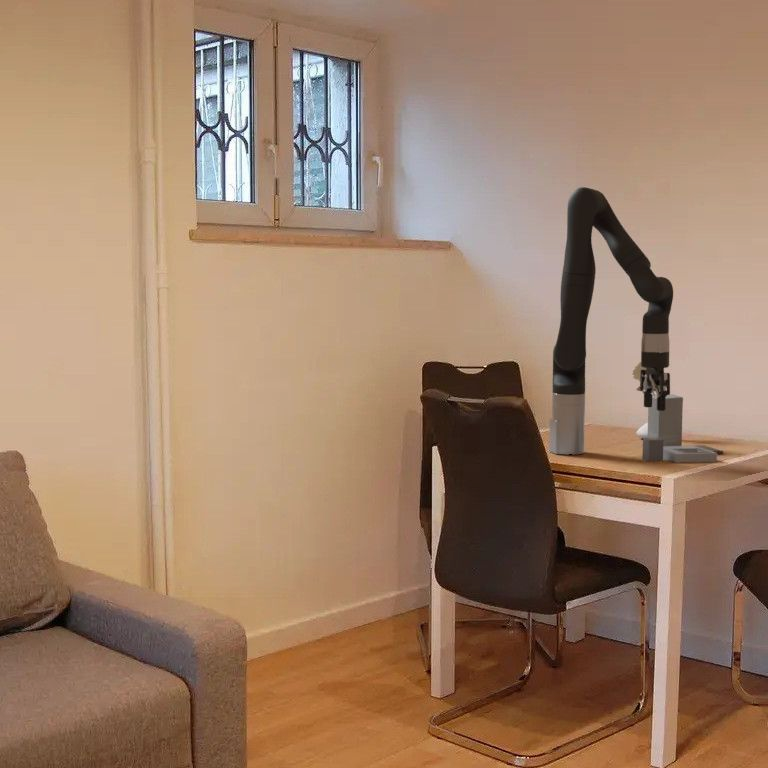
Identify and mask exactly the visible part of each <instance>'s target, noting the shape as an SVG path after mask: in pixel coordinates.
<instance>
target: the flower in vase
mask: <svg viewBox="0 0 768 768" xmlns="http://www.w3.org/2000/svg"><path fill="white" fill-rule="evenodd" d="M641 370H646V368H644V367H642V366H641V361H640V362H638V364H637V365H635V366H634V369H633V370H632V376H633V377H632V379H634V380H636V381H637V380H638V382H640V374H641ZM636 391H638V392H642V393H643V391H641V390H640V385H639V386H638V387H637V388H636ZM655 392H656V391H655V390H654V389H653V392H652V396H657V394H655ZM636 435H637V436H638V437H639V438H642V439H643V438H648V421H647V422H646V423H645V424H643V425H642V426H641V427H639V428H638V429H637V431H636Z"/></svg>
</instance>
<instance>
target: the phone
mask: <svg viewBox="0 0 768 768" xmlns="http://www.w3.org/2000/svg"><path fill="white" fill-rule="evenodd" d="M693 446H696V447H700V448H703V449H706V450H709V451H712V452H715V453H717V454H718V455H723V454H724V451H723V450H720V449H718V448H717V449H716V448H715V447H712V446H707V445H704V444H702V445H701V444H700V445H694V444H693Z"/></svg>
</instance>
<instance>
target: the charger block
mask: <svg viewBox="0 0 768 768" xmlns="http://www.w3.org/2000/svg"><path fill="white" fill-rule="evenodd" d="M663 442H664V440H662V439H659V438H642V457H641V458H642V459H643V461H645V460H646V461H645V462H647V461H648V463H654V461H663V462H664V458H663ZM651 461H652V462H651Z"/></svg>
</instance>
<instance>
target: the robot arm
mask: <svg viewBox="0 0 768 768" xmlns="http://www.w3.org/2000/svg"><path fill="white" fill-rule="evenodd" d="M566 210H567V212H566V213H567V215H566V217H567V218H566V219H567V221H566V222H567V223H566V225H567V226H566V227H567V229H566V243H565V248H564V249H565V251H564V259H563V265H562V266H563V268H562V273H561V274H562V275H561V282H560V296H559V297H560V323H559V328H558V333H557V337H556V338H557V339H556V343H555V345H554V347H553V350H552V404H551V405H552V407H551V408H552V410H551V415H552V416H551V418H550V419H549V439H548V441H549V452H551V453H553V454H555V455H569V454H572V455H581V454H584V453H585V422H586V421H585V417H586V416H585V415H586V413H585V411H586V358H587V348H586V347H587V345H586V344H587V341H586V340H587V325H588V323H587V322H588V317H589V313H590V309H591V305H592V300H593V294H594V287H595V280H596V272H597V271H596V267H597V266H596V260H595V255H594V249H593V243H592V233H593V227H594V228H595V230H597V231H598V232H599V234H600V235H601V236H602V237H603V239H604V240H605V242H606V244H607V246H608V248H609V250H610V253H611V254H612V256H613V257H614V259H615V261H616V262H617V264H618V265H619V266H620V267H621V269H622V270H623V271H624V273H626V275H627V276H628V277H629V279H630V282H631V284H632V285H633V288H634V289H635V291H636V293H637V295H639V297H640V298H641V300H643V301H645V302H646V303H648V307H647V311H646V312H645V313H644V314H643V316H642V327H641V328H642V329H641V330H642V331H641V333H642V334H641V335H642V336H641V344H640V345H641V346H640V347H641V348H640V362H641V366H642V367H644V368H646V370H641V374H640V381H639V386H640V390H641V391H640V392H642V391H643V392H642V394H643V407H644V408H648V407H652V395H653V392H655V393H656V394H655V395H657V410H658V411H664V410H665V400H666V397H667V395H671V374H670V372H665V369H667V368H669V367H670V332H669V331H670V330H669V329H670V320H669V319H670V313H671V310H672V306H673V304H672V303H673V300H674V287H673V283H672V282H671V280H669V279H668V278H667V277H664V276H657V275H656V274H655V273H654V272H653V270H652V268H651V266H652V265H651V264H652V263H651V262H650V260H649V258H648V257H647V256H646V255H645V253H644V252H643V250H642V249H641V248H640V247H639V245H638V244H637V243H636V242H635V241H634V240H633V238H632V237H631V236H630V234H629V233H628V232H627V230H626V229H625V227H624V226H623V225H622V223H621V222H620V220H619V218H618V217H617V215H616V214H615V212H614V210H613V208H612V206H611V205H610V203H609V201H608V199H607V197H606V196H605V194H603V193H602V192H601V191H599V190H596V189H594V188H590V187H586V186H581V187H578V188H576V189H575V190H573V192H572V193H571V194H570V195H569V198H568V202H567V209H566ZM653 389H654V390H655V391H653Z"/></svg>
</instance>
